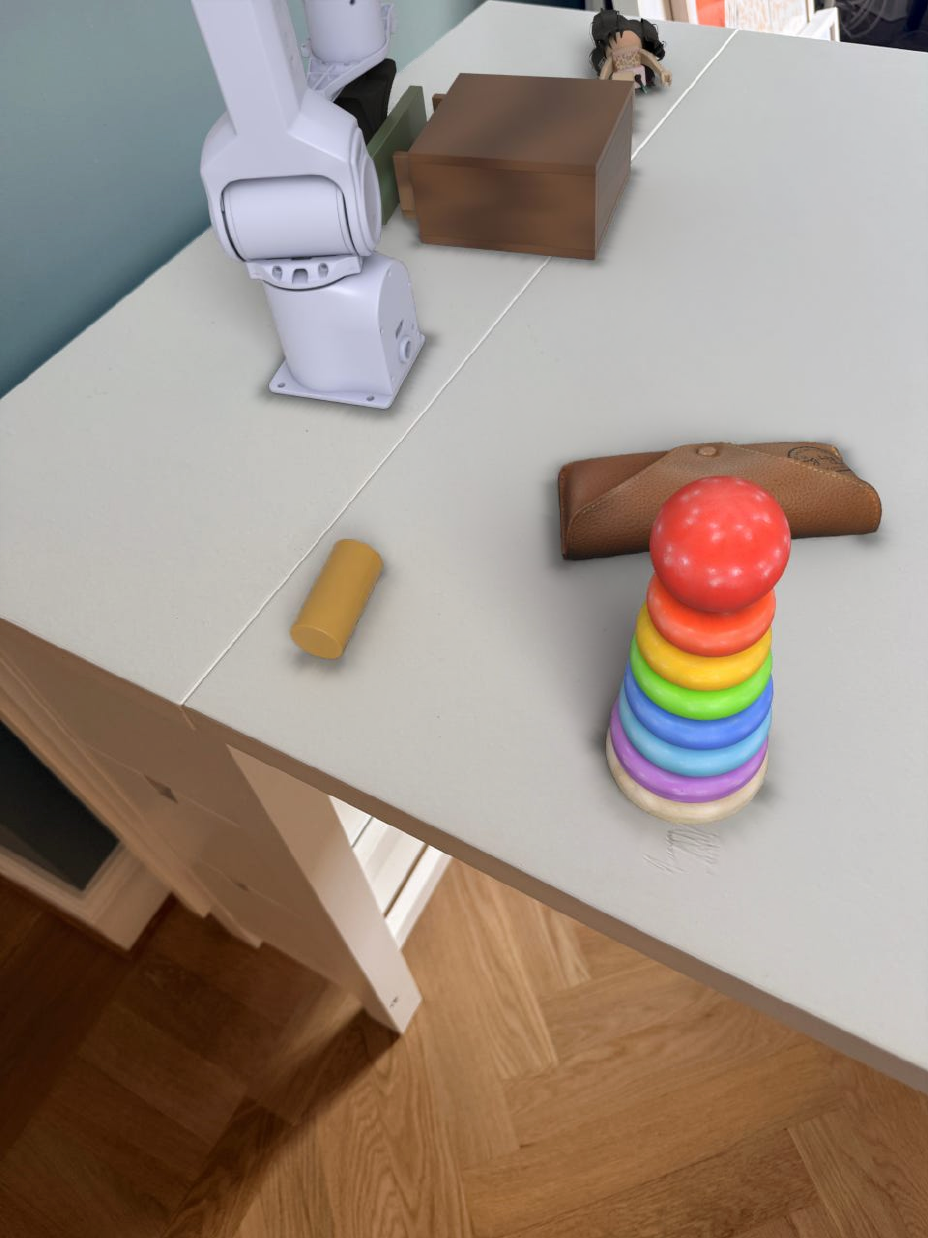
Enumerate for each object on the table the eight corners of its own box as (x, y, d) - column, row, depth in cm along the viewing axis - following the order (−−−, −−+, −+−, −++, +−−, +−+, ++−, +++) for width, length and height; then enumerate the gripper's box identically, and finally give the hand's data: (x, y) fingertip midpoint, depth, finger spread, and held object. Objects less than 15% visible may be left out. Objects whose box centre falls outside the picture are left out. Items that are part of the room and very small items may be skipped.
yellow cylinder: (385, 579, 57) (381, 546, 54) (345, 665, 53) (339, 635, 51) (336, 565, 57) (330, 532, 54) (293, 650, 54) (285, 619, 51)
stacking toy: (799, 765, 47) (902, 512, 31) (683, 863, 44) (734, 641, 29) (685, 664, 51) (727, 398, 36) (573, 749, 48) (568, 503, 33)
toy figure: (681, 130, 83) (658, 45, 91) (678, 58, 78) (654, -25, 86) (601, 148, 84) (585, 63, 93) (593, 79, 79) (577, -5, 87)
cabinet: (421, 243, 77) (406, 152, 71) (469, 161, 83) (459, 72, 77) (595, 260, 73) (595, 165, 67) (630, 173, 79) (634, 80, 73)
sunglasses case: (837, 436, 58) (876, 402, 52) (851, 546, 58) (892, 526, 51) (550, 465, 60) (553, 436, 53) (561, 573, 59) (564, 557, 52)
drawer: (321, 219, 79) (304, 151, 74) (371, 148, 85) (358, 82, 80) (528, 239, 74) (524, 167, 69) (565, 162, 80) (564, 92, 75)
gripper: (326, -62, 73) (360, 114, 84) (245, 22, 66) (294, 204, 77) (409, -61, 71) (433, 119, 82) (335, 25, 64) (372, 211, 75)
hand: (371, 160), depth 79 cm, fingers closed, pressing on drawer
